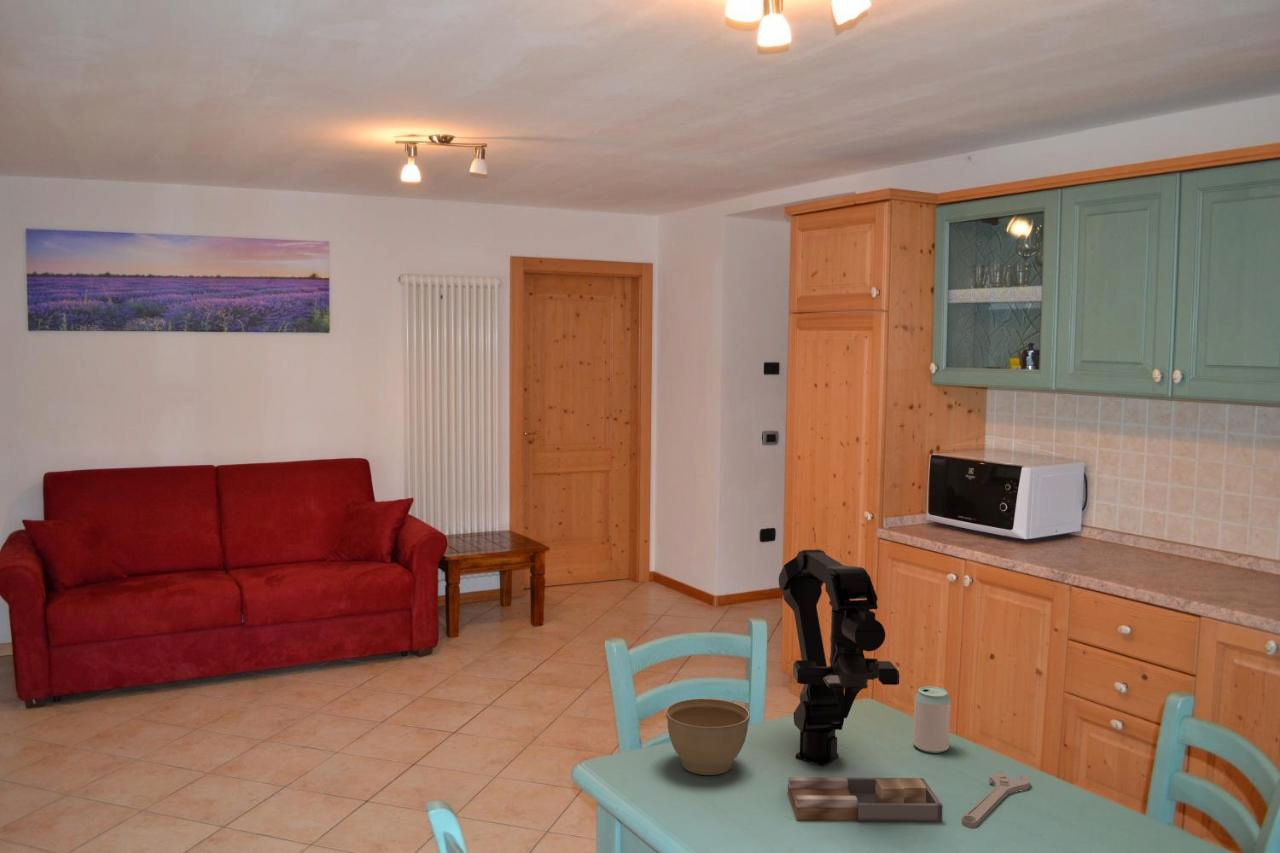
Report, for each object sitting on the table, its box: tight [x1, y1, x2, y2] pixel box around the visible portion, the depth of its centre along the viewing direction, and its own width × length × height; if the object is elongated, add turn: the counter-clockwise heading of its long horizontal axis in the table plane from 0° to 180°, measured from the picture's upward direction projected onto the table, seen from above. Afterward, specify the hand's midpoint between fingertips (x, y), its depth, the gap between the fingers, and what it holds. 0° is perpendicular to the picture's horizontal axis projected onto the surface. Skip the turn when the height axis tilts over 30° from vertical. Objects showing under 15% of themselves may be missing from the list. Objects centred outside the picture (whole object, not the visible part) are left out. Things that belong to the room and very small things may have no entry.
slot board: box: [787, 776, 858, 822], centre depth 177 cm, size 10×10×4 cm
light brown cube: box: [896, 777, 926, 803], centre depth 177 cm, size 4×4×4 cm
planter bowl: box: [665, 698, 751, 776], centre depth 193 cm, size 16×16×11 cm
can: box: [912, 686, 952, 754], centre depth 204 cm, size 7×7×12 cm
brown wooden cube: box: [875, 779, 904, 803], centre depth 177 cm, size 4×4×4 cm
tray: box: [846, 777, 944, 823], centre depth 177 cm, size 14×11×3 cm
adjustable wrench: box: [961, 771, 1031, 829], centre depth 181 cm, size 25×6×2 cm, turn 136°
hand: (844, 717), depth 185 cm, fingers closed
